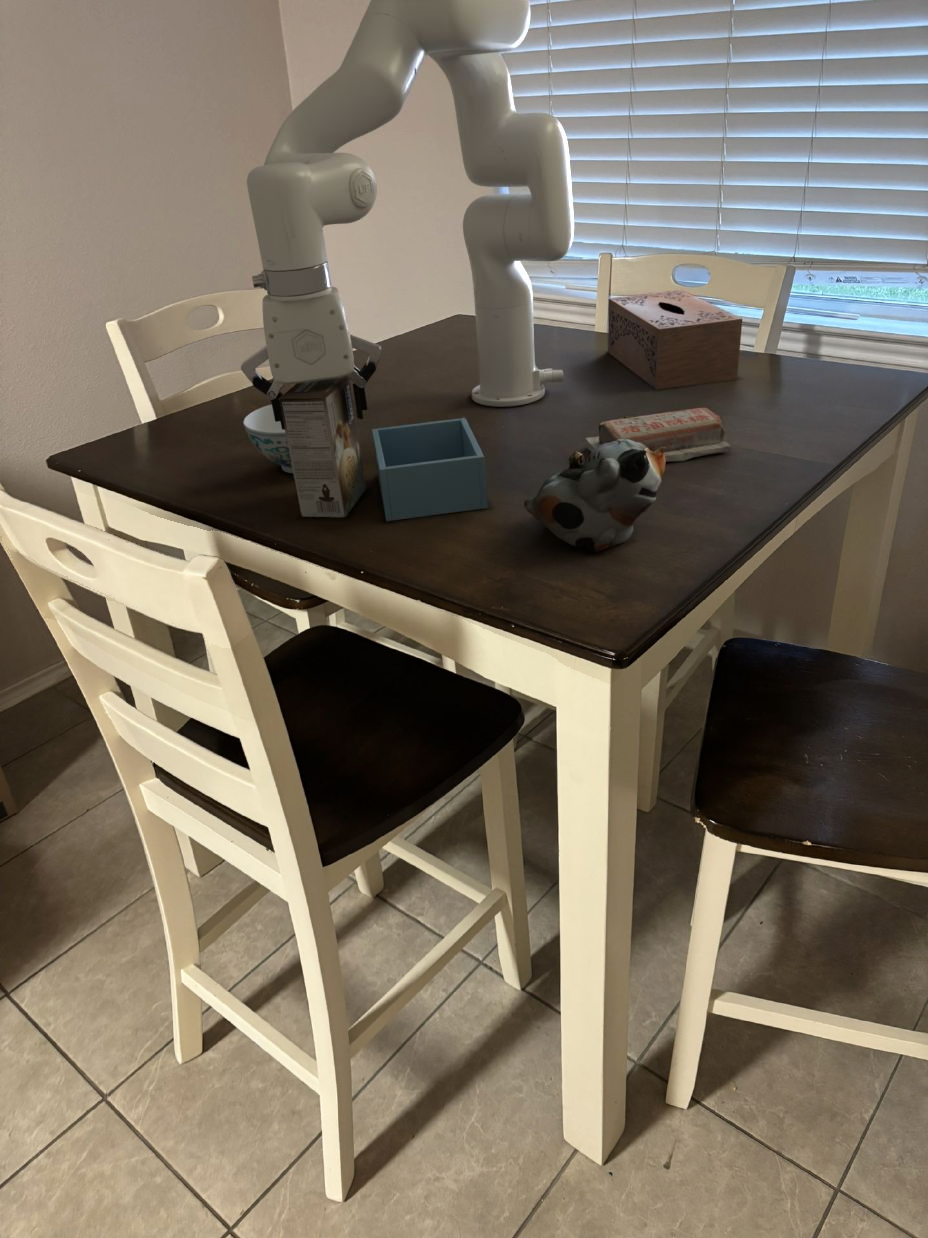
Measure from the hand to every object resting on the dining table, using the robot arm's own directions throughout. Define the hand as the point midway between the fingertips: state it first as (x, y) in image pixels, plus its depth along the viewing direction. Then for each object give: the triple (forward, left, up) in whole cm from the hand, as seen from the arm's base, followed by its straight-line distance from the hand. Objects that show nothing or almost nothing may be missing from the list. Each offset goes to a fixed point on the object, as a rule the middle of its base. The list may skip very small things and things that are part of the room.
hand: (322, 420), depth 114 cm
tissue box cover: (-62, -44, -12) cm, 77 cm away
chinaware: (+4, -16, -12) cm, 20 cm away
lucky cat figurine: (-31, +18, -12) cm, 38 cm away
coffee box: (0, 0, -12) cm, 12 cm away
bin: (-13, 0, -11) cm, 17 cm away
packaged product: (-46, -4, -12) cm, 47 cm away
